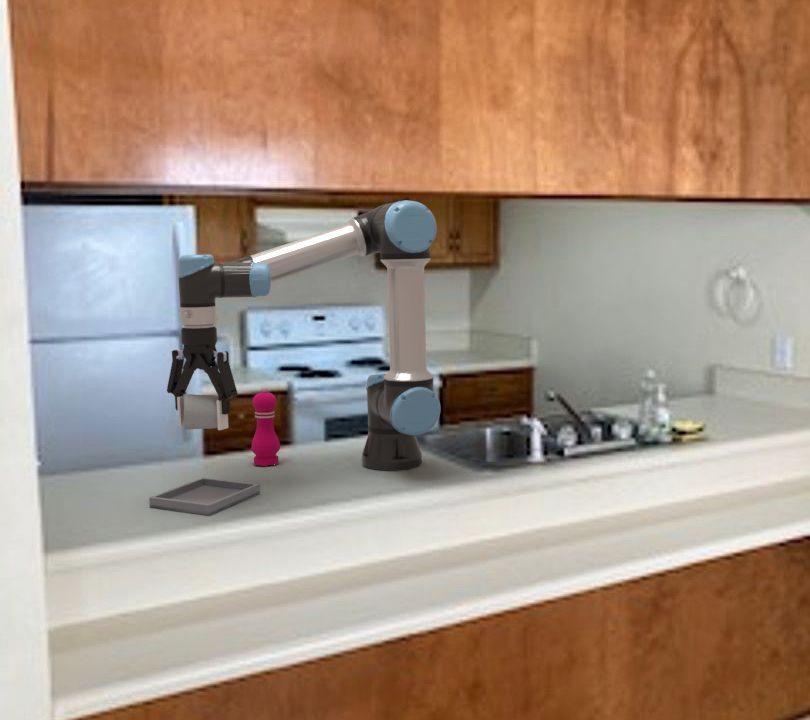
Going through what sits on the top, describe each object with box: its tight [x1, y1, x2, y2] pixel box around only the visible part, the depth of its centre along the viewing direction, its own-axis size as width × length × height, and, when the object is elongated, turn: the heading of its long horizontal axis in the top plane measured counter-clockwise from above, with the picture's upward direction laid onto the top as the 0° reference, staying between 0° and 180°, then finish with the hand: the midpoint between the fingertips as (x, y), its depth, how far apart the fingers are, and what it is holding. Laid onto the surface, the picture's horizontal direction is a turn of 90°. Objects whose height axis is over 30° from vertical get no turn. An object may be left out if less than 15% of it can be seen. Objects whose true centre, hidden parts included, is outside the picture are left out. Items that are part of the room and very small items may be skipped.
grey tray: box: [148, 477, 261, 516], centre depth 201 cm, size 16×18×2 cm
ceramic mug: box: [183, 393, 219, 430], centre depth 202 cm, size 11×8×8 cm
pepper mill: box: [251, 385, 281, 467], centre depth 233 cm, size 7×7×20 cm
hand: (203, 427), depth 201 cm, fingers closed on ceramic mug, 10 cm apart
